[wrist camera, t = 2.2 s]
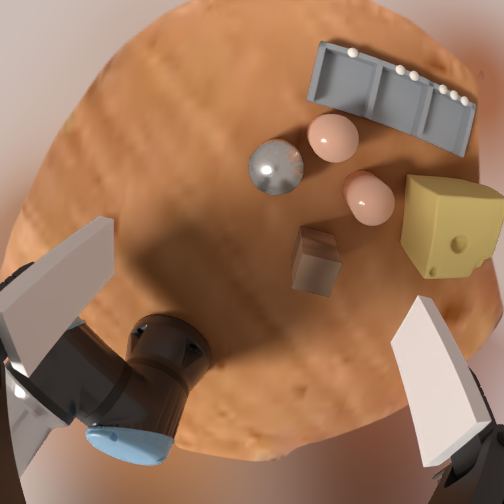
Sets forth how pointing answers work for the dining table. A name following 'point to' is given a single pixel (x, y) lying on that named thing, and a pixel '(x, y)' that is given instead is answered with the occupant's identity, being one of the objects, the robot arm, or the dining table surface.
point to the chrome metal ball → (276, 167)
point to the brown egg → (368, 198)
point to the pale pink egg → (333, 137)
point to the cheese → (449, 225)
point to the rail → (391, 97)
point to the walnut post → (315, 262)
